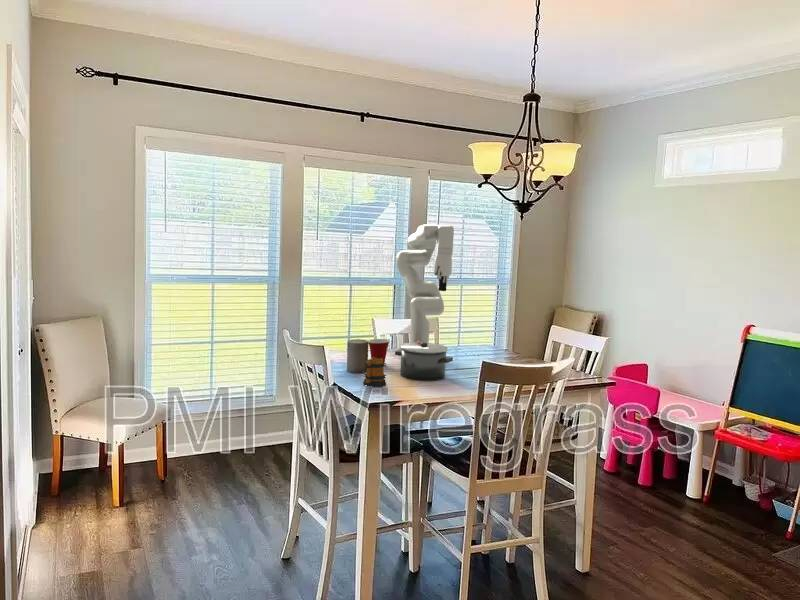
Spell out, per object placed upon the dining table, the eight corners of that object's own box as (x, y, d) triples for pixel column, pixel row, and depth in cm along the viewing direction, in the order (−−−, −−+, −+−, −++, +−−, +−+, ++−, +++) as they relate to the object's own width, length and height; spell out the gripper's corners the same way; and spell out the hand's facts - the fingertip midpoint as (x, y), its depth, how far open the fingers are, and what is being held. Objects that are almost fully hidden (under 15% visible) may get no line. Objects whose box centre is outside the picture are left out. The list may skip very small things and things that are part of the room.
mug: (369, 380, 268) (370, 353, 267) (390, 383, 264) (392, 356, 263) (354, 386, 256) (356, 358, 255) (377, 390, 252) (378, 362, 251)
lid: (391, 349, 276) (392, 342, 276) (415, 343, 295) (415, 337, 294) (434, 355, 266) (434, 349, 265) (455, 349, 285) (456, 342, 284)
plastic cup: (369, 361, 307) (370, 337, 306) (390, 363, 305) (392, 338, 304) (363, 365, 297) (364, 340, 295) (386, 367, 295) (387, 342, 293)
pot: (386, 375, 279) (387, 348, 278) (407, 367, 296) (409, 342, 295) (438, 384, 266) (440, 356, 265) (458, 376, 284) (459, 350, 282)
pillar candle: (370, 369, 288) (371, 337, 287) (363, 373, 279) (364, 340, 278) (351, 367, 291) (352, 335, 290) (342, 371, 282) (343, 338, 281)
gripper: (444, 251, 302) (442, 289, 304) (430, 251, 289) (428, 291, 291) (458, 252, 298) (456, 290, 300) (444, 252, 285) (442, 292, 287)
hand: (442, 290), depth 296 cm, fingers closed
